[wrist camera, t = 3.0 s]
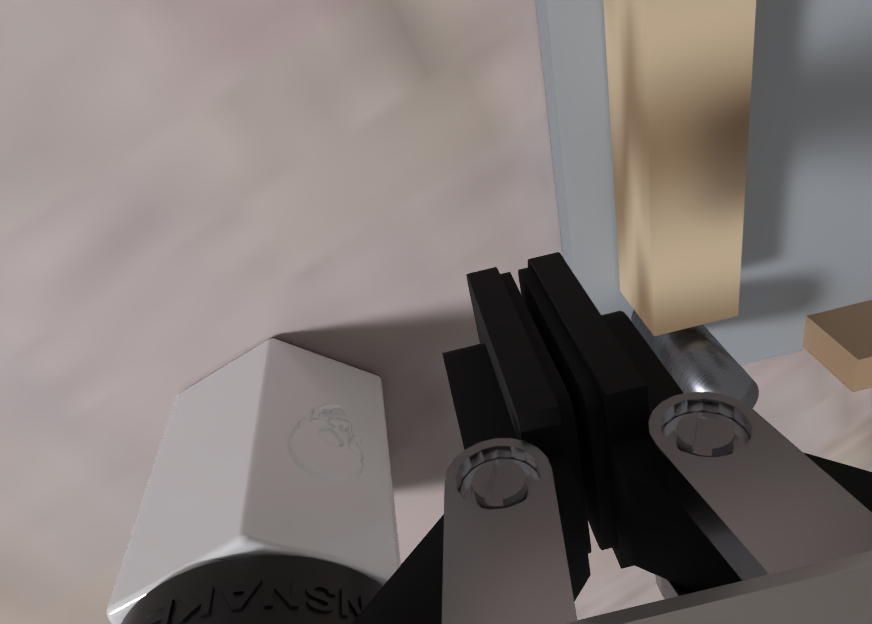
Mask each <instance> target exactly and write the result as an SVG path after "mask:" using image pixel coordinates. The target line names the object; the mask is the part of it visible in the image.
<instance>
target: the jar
mask: <svg viewBox="0 0 872 624" xmlns="http://www.w3.org/2000/svg"><path fill="white" fill-rule="evenodd" d="M400 566H401V561H400V551H399V542H398V532H397V522H396V513H395V503H394V494H393V484H392V475H391V465H390V456H389V446H388V437H387V427H386V417H385V408H384V398H383V389H382V381H381V378H380V377H379V376H377V375H375V374H372V373H369V372H366V371H363V370H361V369H358V368H355V367H352V366H349V365H347V364H344V363H341V362H338V361H335V360H333V359H330V358H327V357H324V356H322V355H319V354H316V353H313V352H310V351H308V350H305V349H302V348H299V347H297V346H294V345H291V344H288V343H286V342H283V341H280V340H278V339H274V338H271V339H268V340H266V341H265V342H263V343H261V344H260V345H258V346H256V347H255V348H253V349H251V350H250V351H248V352H246V353H245V354H243V355H241V356H240V357H238V358H237V359H235V360H233V361H232V362H230V363H228V364H227V365H225V366H223V367H222V368H220V369H218V370H217V371H215V372H213V373H212V374H210V375H208V376H207V377H205V378H203V379H202V380H200V381H198V382H197V383H195V384H194V385H192V386H190V387H189V388H187V389H185V390H184V391H182V392H180V393H179V394H177V396H176V397H175V400H174V403H173V406H172V409H171V412H170V416H169V419H168V422H167V425H166V428H165V431H164V434H163V437H162V440H161V443H160V446H159V450H158V453H157V456H156V459H155V462H154V465H153V468H152V471H151V474H150V477H149V480H148V484H147V487H146V490H145V493H144V496H143V499H142V502H141V505H140V508H139V511H138V514H137V518H136V521H135V524H134V527H133V530H132V533H131V536H130V539H129V542H128V545H127V549H126V552H125V555H124V558H123V561H122V564H121V567H120V570H119V573H118V576H117V579H116V582H115V586H114V589H113V592H112V595H111V598H110V601H109V604H108V607H107V616H108V618H109V620H110V623H111V624H351V623H352V622H353V621H354V620H355V619H356V617H357V616H358V615H359V614H360V613H361V612H362V610H363V609H364V608H365V607H366V606H367V604H368V603H369V602H370V601H371V600H372V599H373V597H374V596H375V595H376V594H377V593H378V591H379V590H380V589H381V588H382V587H383V586H384V584H385V583H386V582H387V581H388V580H389V579H390V577H391V576H392V575H393V574H394V573H395V571H396V570H397V569H398V568H399V567H400Z"/></svg>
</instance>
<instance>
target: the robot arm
mask: <svg viewBox="0 0 872 624" xmlns="http://www.w3.org/2000/svg"><path fill="white" fill-rule="evenodd" d="M518 275H519V282H520V288H521V294H520V291H519V289H518V287H517V285H516V283H515V281H514V279H513V277H512V275H511V273H510V272H508V273H503V274H500V273H499V271H498V269H497V267H494V268H490V269H486V270H482V271H477V272H473V273H469V274H467V281H468V287H469V291H470V296H471V301H472V306H473V311H474V316H475V321H476V326H477V331H478V336H479V340H480V344H478V345H474V346H470V347H466V348H462V349H457V350H453V351H449V352H445V353H443V358H444V362H445V367H446V371H447V376H448V380H449V384H450V389H451V393H452V397H453V402H454V406H455V410H456V415H457V419H458V423H459V428H460V432H461V436H462V441H463V445H464V449H465V450H464V451H463V452H462V453H461V454H460V455H458V456H457V457H456V458H455V459H454V461H453V462H452V464H451V465H450V467H449V468H448V470H447V474H446V479H445V492H444V515H443V516H442V517H441V518H440V519H439V521H438V522H437V523H436V524H435V525H434V527H433V528H432V529H431V530H430V531H429V532H428V534H427V535H426V536H425V537H424V538H423V540H422V541H421V542H420V543H419V544H418V545H417V547H416V548H415V549H414V550H413V551H412V553H411V554H410V555H409V556H408V557H407V558H406V560H405V561H404V562H403V563H402V564H401V566H400V567H399V568H398V569H397V570H396V571H395V573H394V574H393V575H392V576H391V577H390V579H389V580H388V581H387V582H386V583H385V584H384V586H383V587H382V588H381V589H380V590H379V591H378V593H377V594H376V595H375V596H374V597H373V599H372V600H371V601H370V602H369V603H368V604H367V606H366V607H365V608H364V609H363V610H362V612H361V613H360V614H359V615H358V616H357V617H356V619H355V620H354V621H353V622H352V623H351V624H872V472H869V471H866V470H862V469H859V468H855V467H852V466H848V465H845V464H841V463H838V462H835V461H831V460H828V459H824V458H821V457H817V456H814V455H810V454H807V453H803V452H802V451H801V450H799V449H798V448H797V447H796V446H795V445H794V444H793V443H791V442H790V441H789V440H788V439H787V438H786V437H784V436H783V435H782V434H781V433H780V432H779V431H778V430H776V429H775V428H774V427H773V426H772V425H771V424H770V423H768V422H767V421H766V420H765V419H764V418H763V417H762V416H760V415H759V414H758V413H757V412H756V411H755V410H753V409H752V408H751V407H749V406H748V405H746V404H745V403H743V402H742V401H740V400H738V399H735V398H732V397H730V396H727V395H724V394H719V393H712V392H688V393H683V391H682V390H681V388H680V387H679V386H678V384H677V383H676V382H675V380H674V379H673V377H672V376H671V375H670V373H669V372H668V371H667V369H666V368H665V367H664V365H663V364H662V362H661V361H660V360H659V358H658V357H657V356H656V354H655V353H654V351H653V350H652V349H651V347H650V346H649V345H648V343H647V342H646V341H645V339H644V338H643V336H642V335H641V334H640V332H639V331H638V330H637V328H636V327H635V325H634V324H633V323H632V321H631V320H630V319H629V317H628V316H627V315H626V314H625V313H624V312H623V311H616V312H612V313H608V314H604V315H601V314H600V312H599V311H598V309H597V308H596V306H595V305H594V303H593V302H592V300H591V299H590V297H589V296H588V294H587V293H586V291H585V290H584V288H583V287H582V285H581V284H580V282H579V281H578V279H577V278H576V276H575V275H574V273H573V272H572V270H571V269H570V267H569V266H568V264H567V263H566V261H565V260H564V258H563V257H562V255H561V254H560V253H559V252H557V253H553V254H549V255H544V256H540V257H536V258H532V259H528V268H524V269H520V270H519V271H518ZM521 295H522V296H521ZM588 521H589V524H590V526H591V529H592V531H593V534H594V536H595V538H596V541H597V543H598V545H599V547H600V549H601V550H604V549H608V548H613V551H614V553H615V555H616V558H617V560H618V562H619V565H620V567H621V568H626V567H630V566H634V565H635V566H637V567H640V568H642V569H644V570H646V571H649V572H651V573H653V574H655V575H656V583H657V585H658V587H659V590H660V592H661V594H662V596H663V597H664V599H665V600H660V601H656V602H652V603H648V604H644V605H639V606H635V607H631V608H627V609H623V610H619V611H614V612H610V613H606V614H602V615H598V616H594V617H590V618H586V619H581V620H577V616H576V610H575V604H574V601H575V600H576V598H577V596H578V595H579V593H580V591H581V590H582V588H583V586H584V585H585V583H586V581H587V580H588V578H589V577H590V567H589V559H588V553H591V543H590V535H589V527H588Z"/></svg>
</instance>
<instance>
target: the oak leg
mask: <svg viewBox="0 0 872 624" xmlns="http://www.w3.org/2000/svg"><path fill="white" fill-rule="evenodd" d="M603 2H604V20H605V37H606V55H607V72H608V90H609V107H610V125H611V142H612V160H613V177H614V195H615V212H616V230H617V247H618V265H619V282H620V292H621V293H622V294H623V296H624V297H625V298H626V300H627V301H628V302H629V304H630V305H631V306H632V308H633V309H634V310H635V311H636V313H637V314H638V315H639V317H640V318H641V319H642V321H643V322H644V323H645V325H646V326H647V327H648V329H649V330H650V331H651V333H652V334H653V335H654V336H658V335H662V334H666V333H670V332H674V331H678V330H682V329H686V328H690V327H694V326H698V325H702V324H707V323H711V322H715V321H719V320H723V319H727V318H731V317H735V316H738V307H739V290H740V272H741V255H742V238H743V221H744V204H745V186H746V169H747V152H748V135H749V117H750V100H751V83H752V66H753V48H754V31H755V14H756V0H603Z"/></svg>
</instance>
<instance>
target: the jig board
mask: <svg viewBox="0 0 872 624" xmlns="http://www.w3.org/2000/svg"><path fill="white" fill-rule="evenodd" d="M536 8H537V17H538V26H539V36H540V45H541V54H542V63H543V73H544V82H545V91H546V100H547V110H548V119H549V128H550V137H551V147H552V156H553V165H554V174H555V184H556V193H557V202H558V211H559V220H560V230H561V239H562V248H563V257H564V260H565V261H566V263H567V264H568V266H569V267H570V269H571V270H572V272H573V273H574V275H575V276H576V278H577V279H578V281H579V282H580V284H581V285H582V287H583V288H584V290H585V291H586V293H587V294H588V296H589V297H590V299H591V300H592V302H593V303H594V305H595V306H596V308H597V309H598V311H599V312H600V314H601V315H604V314H608V313H612V312H616V311H623V312H624V313H625V314H626V315H627V316H628V317H629V319H630V320H631V317H632V313H633V310H634V309H633V308H632V306H631V305H630V304H629V302H628V301H627V300H626V298H625V297H624V296H623V294H622V293H621V292H620V282H619V265H618V247H617V230H616V212H615V195H614V177H613V160H612V142H611V125H610V107H609V90H608V72H607V55H606V37H605V20H604V2H603V0H536ZM703 325H704V326H705V327H706V328H707V329H708V330H709V331H710V333H711V334H712V335H713V336H714V337H715V338H716V339H717V340H718V341H719V343H720V344H721V345H722V346H723V347H724V348H725V349H726V350H727V352H728V353H729V354H730V355H731V356H732V357H733V358H734V359H735V360H736V362H737V363H738V364H739V365H744V364H748V363H752V362H756V361H760V360H764V359H768V358H772V357H776V356H780V355H784V354H788V353H792V352H796V351H801V350H805V349H806V350H807V351H808V352H809V353H810V354H811V355H813V356H814V357H815V358H816V359H817V360H818V361H819V362H820V363H821V364H822V365H823V366H824V367H826V368H827V369H828V370H829V371H830V372H831V373H832V374H833V375H834V376H835V377H836V378H837V379H839V380H840V381H841V382H842V383H843V384H844V385H845V386H846V387H847V388H848V389H849V390H850V391H851V392H855V391H859V390H863V389H867V388H871V387H872V0H756V14H755V31H754V48H753V66H752V83H751V100H750V117H749V135H748V152H747V169H746V186H745V204H744V221H743V238H742V255H741V272H740V290H739V307H738V316H735V317H731V318H727V319H723V320H719V321H715V322H711V323H707V324H703Z"/></svg>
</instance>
